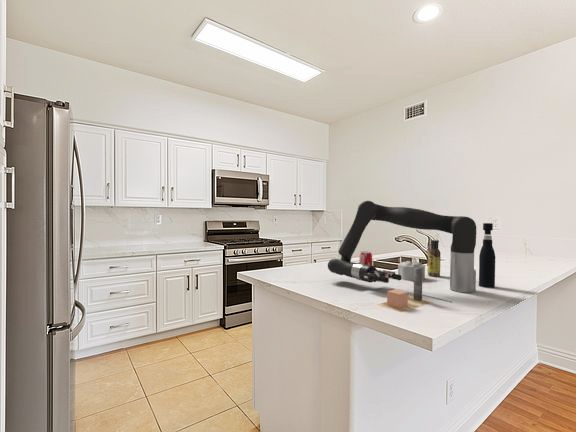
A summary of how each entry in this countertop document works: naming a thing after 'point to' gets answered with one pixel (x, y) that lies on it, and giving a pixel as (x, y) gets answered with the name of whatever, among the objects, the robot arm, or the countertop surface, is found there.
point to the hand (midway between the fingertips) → (394, 279)
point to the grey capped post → (417, 298)
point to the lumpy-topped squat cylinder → (409, 270)
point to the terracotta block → (397, 298)
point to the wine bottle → (487, 259)
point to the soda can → (366, 258)
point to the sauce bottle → (434, 259)
